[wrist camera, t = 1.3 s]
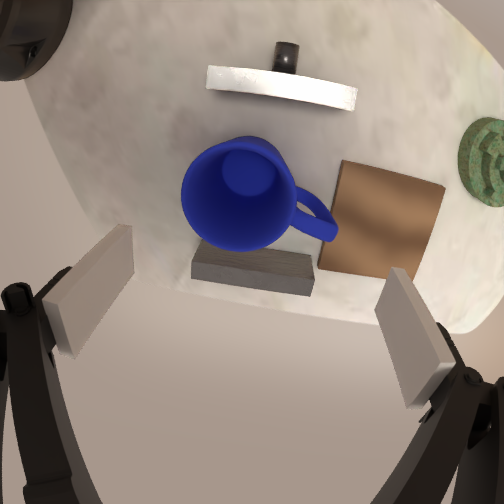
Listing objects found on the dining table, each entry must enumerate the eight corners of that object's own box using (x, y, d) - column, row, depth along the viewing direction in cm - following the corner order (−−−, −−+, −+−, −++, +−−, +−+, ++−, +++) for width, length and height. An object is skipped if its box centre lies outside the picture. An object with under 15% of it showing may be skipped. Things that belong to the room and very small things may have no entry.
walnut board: (342, 159, 29) (344, 161, 28) (441, 185, 29) (445, 188, 28) (317, 264, 35) (318, 269, 34) (409, 278, 35) (412, 282, 34)
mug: (304, 232, 33) (313, 285, 24) (198, 190, 32) (167, 229, 23) (339, 164, 29) (365, 194, 21) (225, 116, 28) (201, 124, 19)
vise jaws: (223, 42, 24) (213, 31, 20) (349, 61, 24) (362, 55, 20) (201, 254, 35) (190, 278, 31) (306, 270, 35) (310, 296, 31)
